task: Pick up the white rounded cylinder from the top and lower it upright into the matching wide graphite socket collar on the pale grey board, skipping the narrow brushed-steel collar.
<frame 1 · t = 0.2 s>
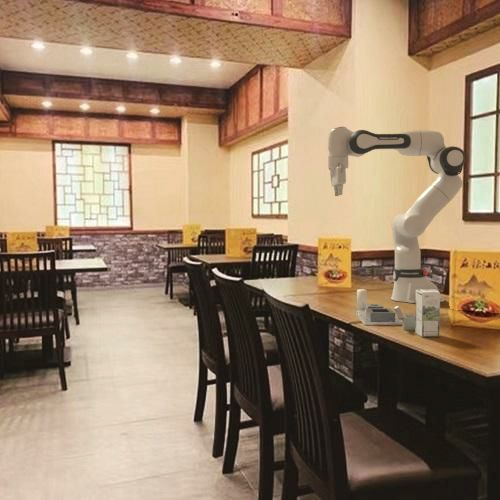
hand: (338, 195, 219), 47 cm above the table, tool pointing down, fingers open, 8 cm apart
syrup box: (427, 335, 156), on the table
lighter: (404, 330, 164), on the table
white rounded cylinder: (362, 309, 201), on the table
fitting board: (377, 318, 182), on the table
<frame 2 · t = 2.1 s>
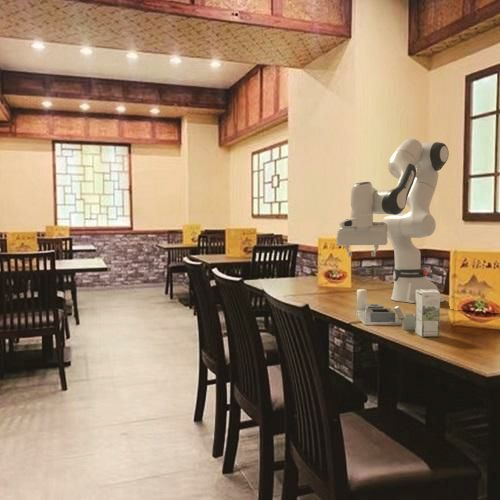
hand: (361, 256, 199), 22 cm above the table, tool pointing down, fingers open, 8 cm apart
nothing on the table moved.
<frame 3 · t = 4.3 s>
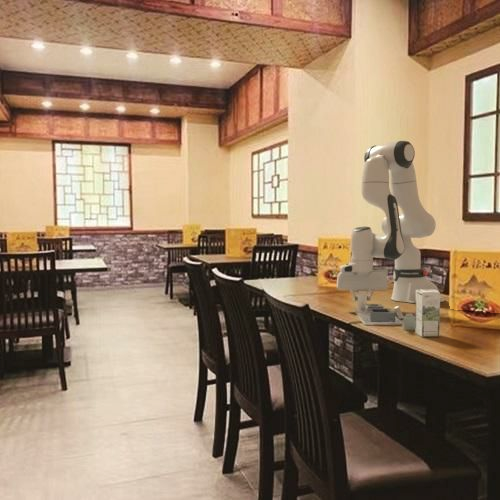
hand: (361, 300, 200), 4 cm above the table, tool pointing down, fingers closed on white rounded cylinder, 4 cm apart
white rounded cylinder: (362, 309, 201), on the table, touching gripper
everything else where it was.
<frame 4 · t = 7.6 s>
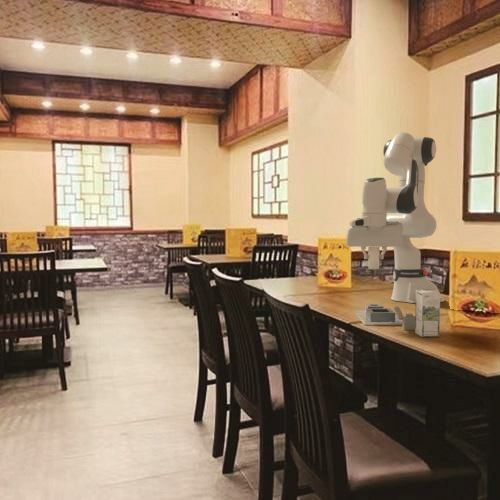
hand: (373, 259, 182), 22 cm above the table, tool pointing down, fingers closed on white rounded cylinder, 4 cm apart
white rounded cylinder: (373, 268, 182), point 19 cm above the table, touching gripper
everything else where it was.
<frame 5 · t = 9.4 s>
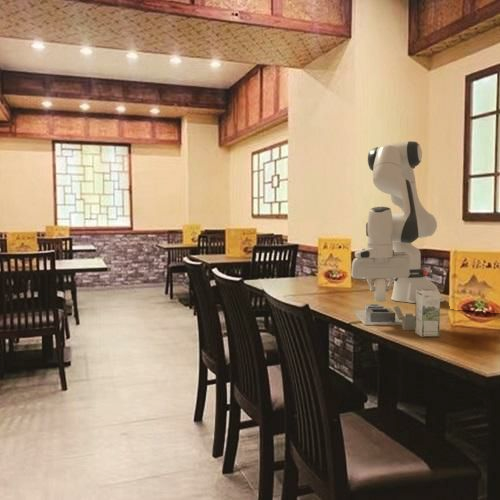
hand: (380, 290, 176), 11 cm above the table, tool pointing down, fingers closed on white rounded cylinder, 4 cm apart
white rounded cylinder: (380, 300, 177), point 8 cm above the table, touching gripper
everything else where it was.
when the fingers open (6 cm above the table, at t = 11.0 s): white rounded cylinder stays where it is, resting on fitting board.
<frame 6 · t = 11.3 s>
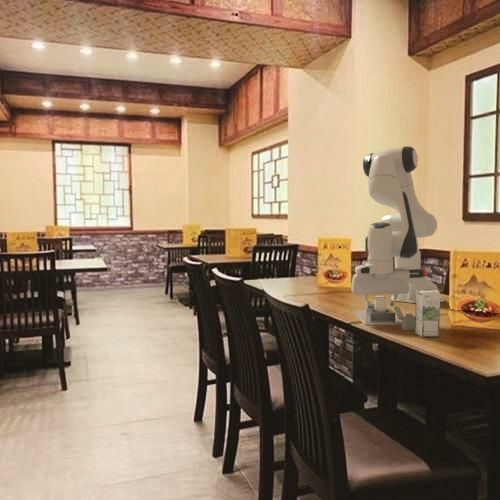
hand: (380, 306, 177), 6 cm above the table, tool pointing down, fingers open, 7 cm apart
white rounded cylinder: (380, 318, 177), point 1 cm above the table, touching fitting board
everything else where it was.
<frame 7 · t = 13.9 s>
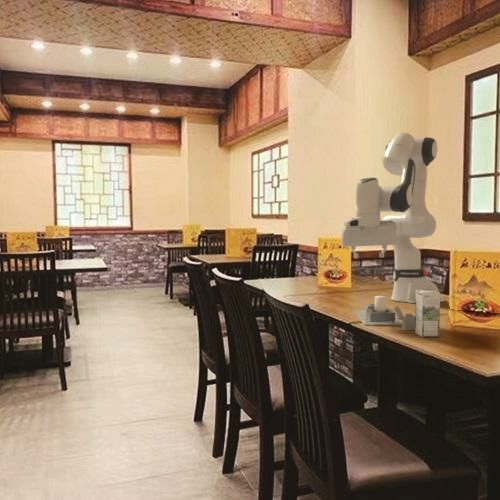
hand: (369, 257, 186), 22 cm above the table, tool pointing down, fingers open, 8 cm apart
nothing on the table moved.
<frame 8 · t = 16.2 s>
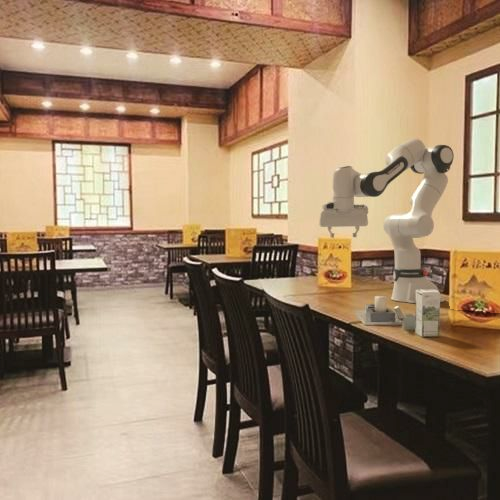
hand: (343, 237, 209), 29 cm above the table, tool pointing down, fingers open, 8 cm apart
nothing on the table moved.
at the end: white rounded cylinder 0.1 cm from the target spot on the fitting board, point 1.0 cm above the fitting board's base; white rounded cylinder tilted 0°; the gripper is holding nothing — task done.
